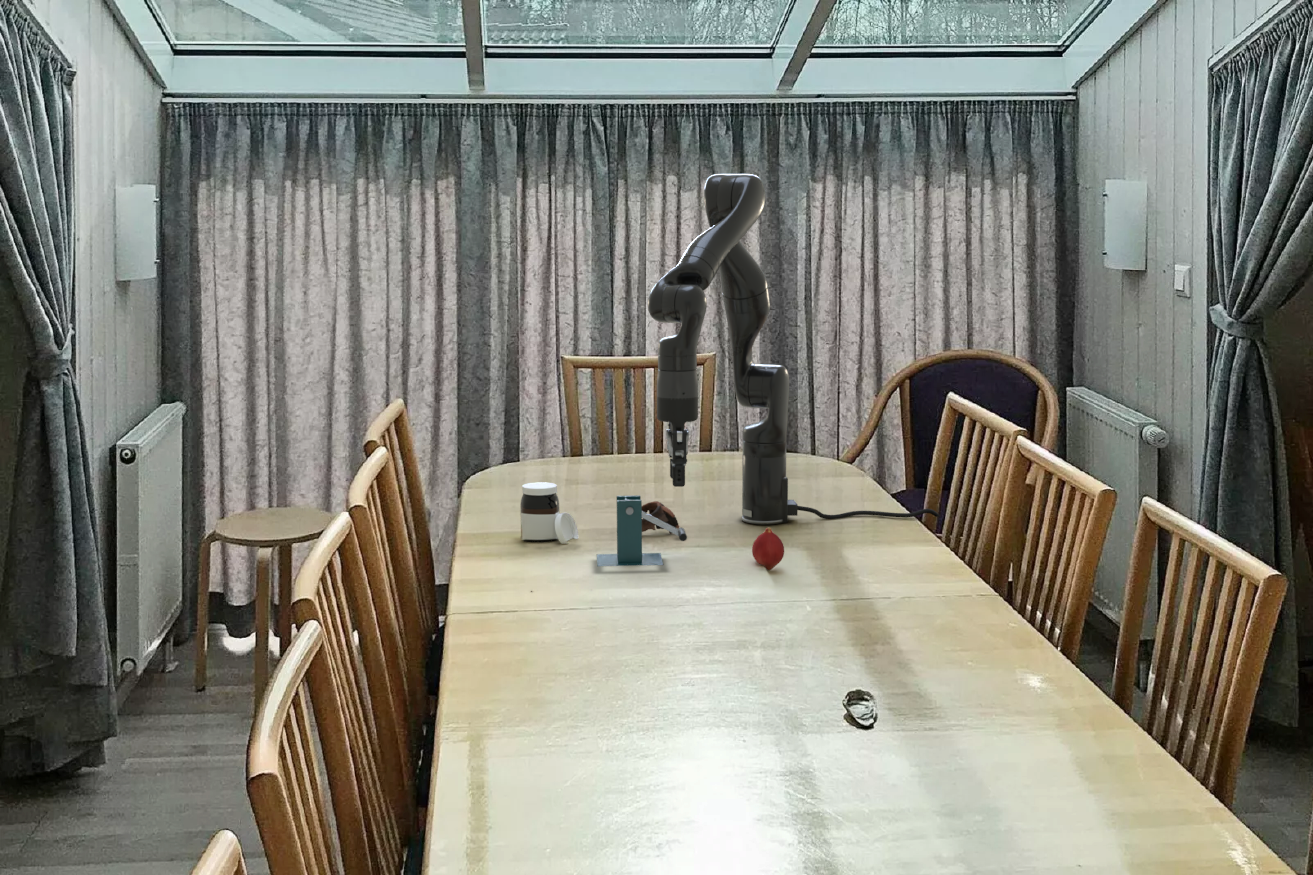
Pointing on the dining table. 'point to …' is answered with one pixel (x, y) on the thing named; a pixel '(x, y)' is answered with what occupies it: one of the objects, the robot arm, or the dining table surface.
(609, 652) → the dining table surface
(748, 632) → the dining table surface
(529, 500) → the spread jar
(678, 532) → the lever
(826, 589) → the dining table surface
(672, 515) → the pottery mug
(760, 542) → the onion
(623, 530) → the bracket
